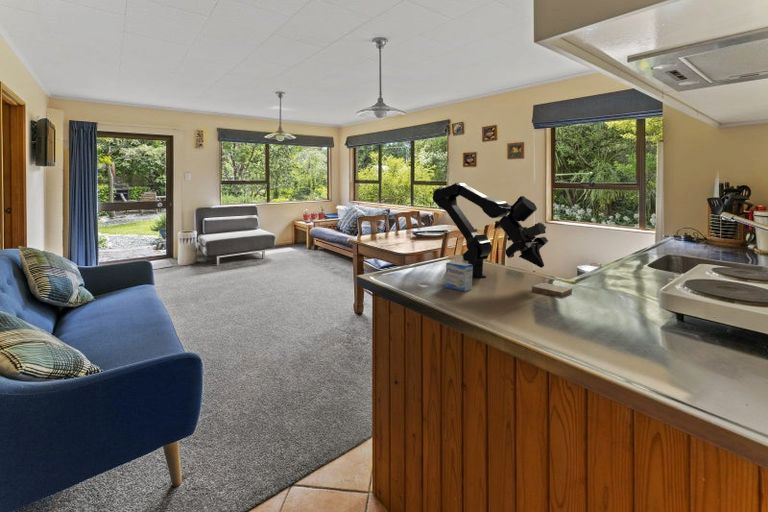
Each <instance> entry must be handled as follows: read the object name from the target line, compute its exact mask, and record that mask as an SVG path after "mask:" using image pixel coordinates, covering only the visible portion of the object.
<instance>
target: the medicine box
mask: <svg viewBox="0 0 768 512" xmlns="http://www.w3.org/2000/svg"><path fill="white" fill-rule="evenodd" d="M472 270H473V265H472V264H468V262H467V263H466V262H461V261H460V262H459V261H447V262H446V263H445V285H444V286H445V288H446V289H451V290H457V291H461V292H468V291H470V290H472V288H473V278H472Z"/></svg>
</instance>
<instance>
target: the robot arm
mask: <svg viewBox="0 0 768 512" xmlns="http://www.w3.org/2000/svg"><path fill="white" fill-rule="evenodd" d="M459 196H461V197H462V198H464V199H466V200H468V201H469V202H471V203H472V204H475V206H478V207H479V208H481V210H482V212H483V213H485V214H486V215H487V216H488V217H489V218H491V219H499V218H500V219H499V220H495V222H494V228H493V229H495V230H497V229H502V231H503V232H504V233H505V234H506V236H507V238H506V239H507V241H508V242H510V241H511V242H512V243H511V244H510V245H509V246H508V247H507V248H506V249H505V256H507V258H508V259H511V258H514V257H515V253H516V252H520V255H519V256H518V258H520V259H523V260H524V261H525V260H526V261H527V262H528V263H532V264H533V265H535V266H537V267H539V268H541V269H542V268H544V267H545V263H544V261H543V258H542V255H541V252H540V249H542V248H543V247H544V246H545V245H546V244H547V243H549V240H548V239H547V237H546V236H539V235H541V234H542V235H545V234H546V229H547V226H546V225H545V224H544V223H542V222H537V223H535V224H534V225H532V226H530V227H527V226H523V225H521V222H522V223H523V222H526V221H527V219H528V218H530V217H531V216H532V215H533V214H534V213H535V212H536V211H537V210H538V208H537V206H536V204H535V202H533V201H531V200H530V199H528V198H526V196H524V195H522V196H519V197H518V198H517V200H516V201H515V202H514V203H513V204H512V205H511V204H509V203H508V202H507V201H505V200H501V199H498V198H494V197H489V196H488V195H485V194H483V193H482V192H480V191H478V190H476V189H474V188H472V187H471V186H468V185H467V184H466V183H465V182H454V183H453V184H451V185H449V186H445V187H442V188H436V189H435V190H433V194H432V201H433V202H434V203H435V204H436V205H437V206H438V208H441V209H442V210H444V211H445V212H446V214H448V216H449V218H450V219H451V221H452V222H453V223H454V225H455V227H457V229H458V230H459V232H460V233H461V235H462V236H463V238H464V239H465V244H466V248H467V250H466V251H465V252H464V253H463V254H462V258H463V261H465V262H467V264H472V265H473V270H472V279H473V278H474V279H475V278H486V277H487V275H485V274H484V260H487V259H488V257H489V256H490V254H491V253H492V251H493V250H492V248H493V246H492V245H493V244H491V243H492V241H491V240H490V239H489V238H488V237H487V235H486V234H485V233H478V232H477V230H476V229H475V228H474V226H473V225H472V223H471V222H470V221H469V219H468V218H467V217H466V215H465V214H464V212H463V211H462V210H461V208H460V206H459V205H458V203H457V201H458V200H457V198H458V197H459ZM537 236H538V237H537Z"/></svg>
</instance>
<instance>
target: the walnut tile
mask: <svg viewBox="0 0 768 512" xmlns="http://www.w3.org/2000/svg"><path fill="white" fill-rule="evenodd" d="M534 291H535V293H539V292H540V293H541V294H544V295H550V296H553V295H554V297H558V296H559V297H558V298H564V297H566V296H569V295H571V294H572V293H573V288H571V287H567V286H562V285H557V284H552V283H546V282H540V283H537V284H535V285H531V292H534ZM568 294H569V295H568ZM563 296H564V297H563Z"/></svg>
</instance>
